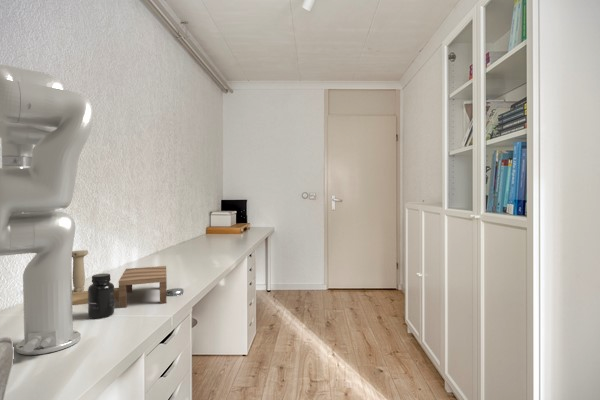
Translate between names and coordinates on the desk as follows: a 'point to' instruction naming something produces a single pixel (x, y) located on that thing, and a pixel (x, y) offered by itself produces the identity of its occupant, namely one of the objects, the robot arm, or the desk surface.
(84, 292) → the oak stick
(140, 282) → the desk riser
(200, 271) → the desk surface
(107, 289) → the supplement bottle
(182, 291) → the steel disc
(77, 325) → the desk surface
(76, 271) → the beige pillar figurine
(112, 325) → the desk surface
